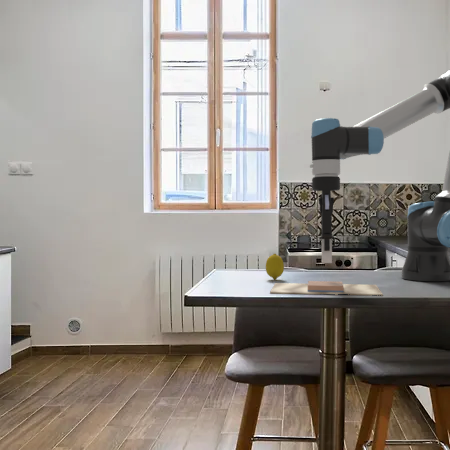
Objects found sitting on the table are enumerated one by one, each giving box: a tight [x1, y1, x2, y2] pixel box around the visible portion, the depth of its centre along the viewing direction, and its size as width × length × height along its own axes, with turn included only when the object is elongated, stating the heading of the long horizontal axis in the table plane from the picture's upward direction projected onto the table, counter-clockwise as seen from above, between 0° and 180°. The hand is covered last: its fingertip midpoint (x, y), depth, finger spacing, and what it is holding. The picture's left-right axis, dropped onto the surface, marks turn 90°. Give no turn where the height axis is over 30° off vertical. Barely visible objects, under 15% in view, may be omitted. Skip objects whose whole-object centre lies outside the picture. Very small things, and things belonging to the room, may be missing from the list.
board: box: [269, 282, 384, 297], centre depth 157 cm, size 28×18×1 cm, turn 81°
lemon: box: [265, 253, 285, 280], centre depth 179 cm, size 6×6×8 cm
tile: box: [307, 280, 344, 292], centre depth 154 cm, size 9×2×9 cm
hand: (326, 262), depth 160 cm, fingers closed
